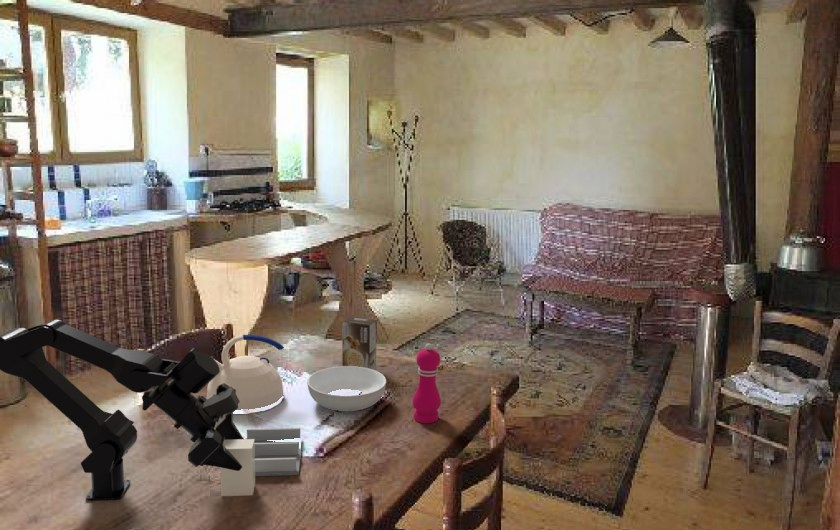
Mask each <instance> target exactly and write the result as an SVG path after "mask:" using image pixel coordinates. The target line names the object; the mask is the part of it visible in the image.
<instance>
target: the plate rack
mask: <svg viewBox="0 0 840 530" xmlns="http://www.w3.org/2000/svg"><path fill="white" fill-rule="evenodd" d="M294 438H301V427H281V428H280V427H275V428H274V427H273V428H271V427H270V428H247V429H246V439H255V477H269V476H271V477H272V476H273V477H274V476H277V477H278V476H299V474H300V467H301V466H300V465H301V460H302V459H301V457H302V451H301V450H300V449H299V442H275V441H274V442H273V441H267V440H281V439H282V440H284V439H294Z"/></svg>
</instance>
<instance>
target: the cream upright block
mask: <svg viewBox="0 0 840 530" xmlns="http://www.w3.org/2000/svg"><path fill="white" fill-rule="evenodd" d="M225 447H226V449H227V450H228V451H229V452H230V453H231V454H232V455H233V456H234V457H235V458H236V459H237V461H238V462H239V463H240V464H241V465H242V468H241V469H240V470H239V471H235V470H230V469H226V468H221V467H220V488H221V489H220V493H221V495H220V496H221V497H238V496H239V497H240V496H253V495H254V492H255V491H254V490H255V488H256V476H255V439H247V438H244V439H233V440H225Z"/></svg>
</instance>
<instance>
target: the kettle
mask: <svg viewBox="0 0 840 530" xmlns="http://www.w3.org/2000/svg"><path fill="white" fill-rule="evenodd" d="M240 341H257V342H262V343H265V344H268V345H271V347H272V346H273V347H274V348H276V349H277V350H279V351H283V350H284V349H285V347H284V345H282V344H281V343H280V342H278V341H276V340H274V339H272V338H269V337H265V336H262V335H255V334H241V335H237V336H234V337H231V339H230V340H228V341H227V343H225V345H224V346H223V349H222V352H221V362H222V363H221V362H219V361H218V360H216V359H215V358H213V359H214V360H215V361H216V363H217V364H218V366H219V369H220V372H219V374H218V375H216V376H215V377H214V378H213V379H212V380H211V381H210V382H209V383H208V384H207V390H206V399H209V398H211V397H212V396H213V395H214V394H215V395H216V389H217V387H218V385H221V384H223V383H225V384H226V385H228V386H229V387H231V386H232V388H233V389H235V390H236V395H237V397H238V399H239V401H240V402H239V403H238V408H237V410H241V409H248V410H249V409H255V408H261V407H265V406H268V405H271V404H273V403H275V402H277V401H278V400H279V399H280V398H281V397H282V396H283V394H284V385H283V379H282V378H281V375H280V373H279V372H278V371H277V369H276V368H275V367H274V366H273V365H272V364H271V363H270V360H269V359H268V357H257V356H253V355H239V356H235V357H233V358H230V357H229V351H230V349H231V348H232V346H233V345H234V344H237V342H240ZM229 358H230V359H229Z"/></svg>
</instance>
